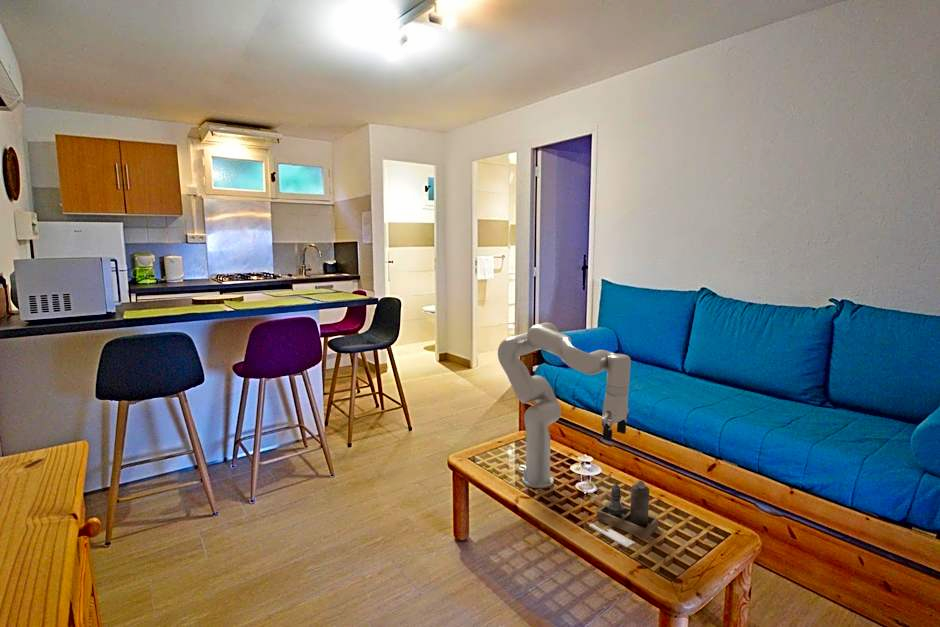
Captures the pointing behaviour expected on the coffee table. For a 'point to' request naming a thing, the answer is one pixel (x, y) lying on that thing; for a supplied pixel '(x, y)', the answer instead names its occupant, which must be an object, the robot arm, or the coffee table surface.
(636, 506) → the cruet stand
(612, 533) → the white plastic blade
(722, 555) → the coffee table surface
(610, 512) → the salt shaker
